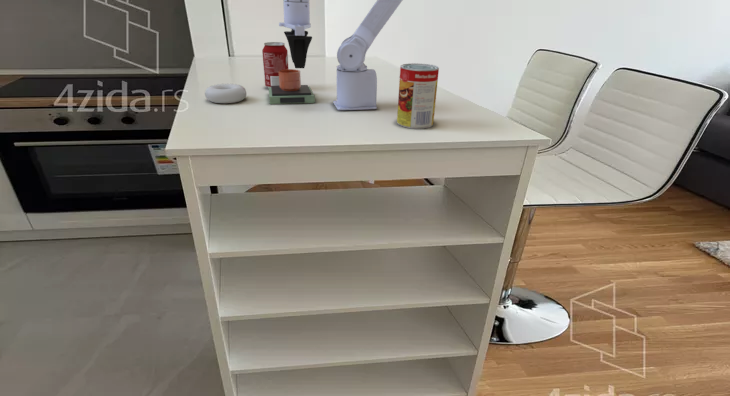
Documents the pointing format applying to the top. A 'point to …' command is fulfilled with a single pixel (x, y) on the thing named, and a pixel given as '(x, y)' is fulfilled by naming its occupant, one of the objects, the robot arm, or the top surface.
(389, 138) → the top surface
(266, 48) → the soda can
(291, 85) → the orange cup
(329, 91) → the top surface
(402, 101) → the canned food
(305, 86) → the scale
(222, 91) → the donut
